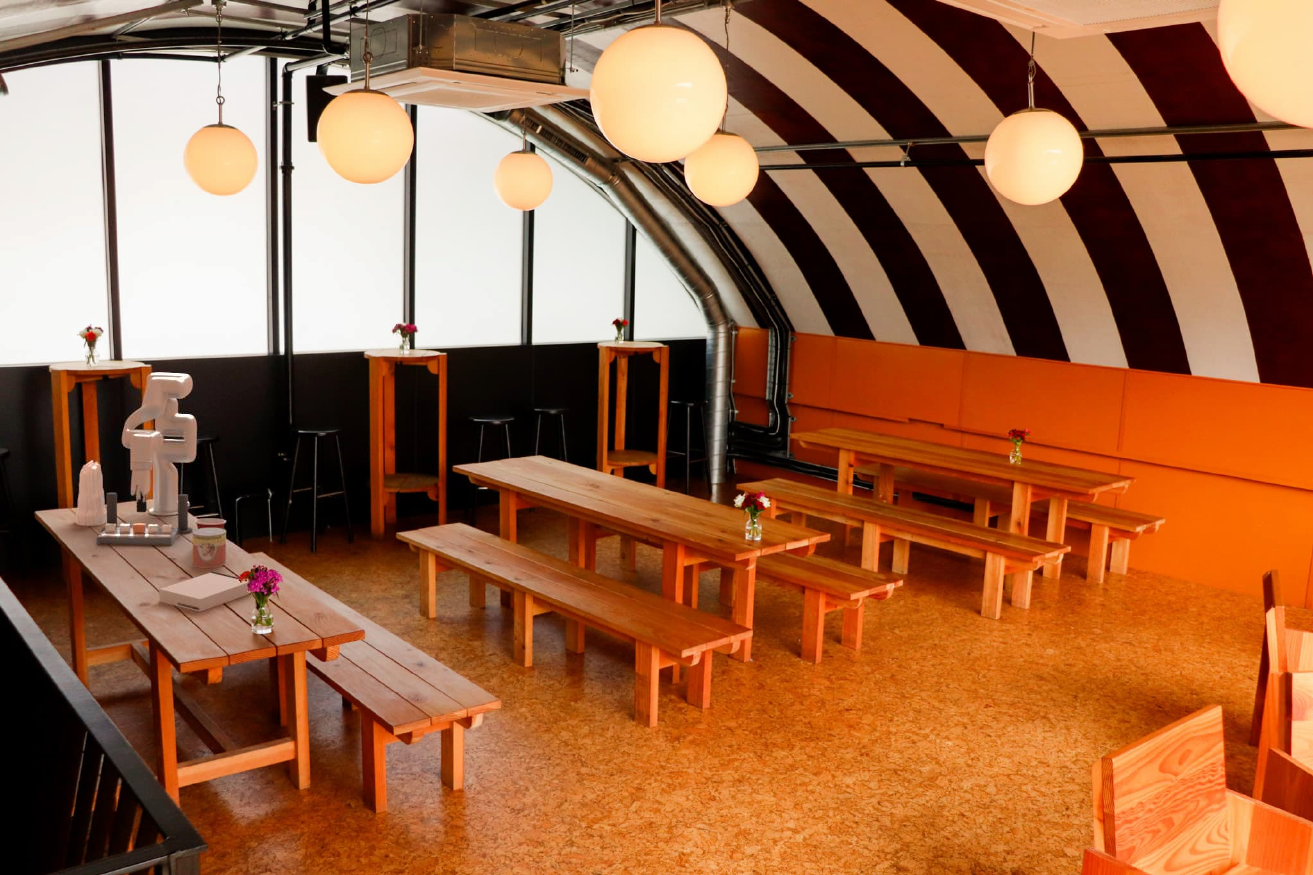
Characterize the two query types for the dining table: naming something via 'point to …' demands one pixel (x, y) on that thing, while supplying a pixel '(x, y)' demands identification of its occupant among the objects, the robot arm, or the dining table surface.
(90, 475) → the white ridged tapered column
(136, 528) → the block
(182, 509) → the post
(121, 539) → the breaker panel
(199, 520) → the plastic cup
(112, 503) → the knob
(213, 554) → the canned food
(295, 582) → the dining table surface
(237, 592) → the disc drive
